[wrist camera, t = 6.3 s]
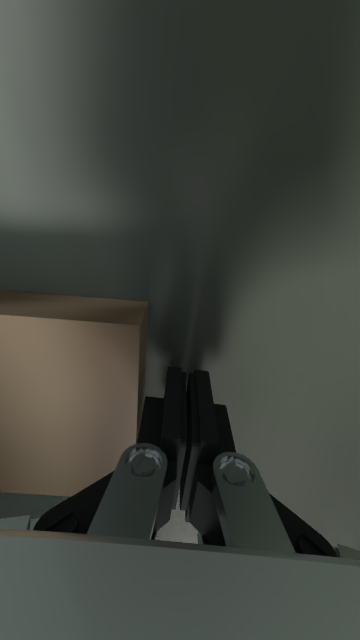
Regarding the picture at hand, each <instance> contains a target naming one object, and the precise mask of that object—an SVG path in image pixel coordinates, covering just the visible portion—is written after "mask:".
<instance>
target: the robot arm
mask: <svg viewBox="0 0 360 640" xmlns="http://www.w3.org/2000/svg"><path fill="white" fill-rule="evenodd" d="M179 485H180V510H185V514H186V522H190V523H191V524H192V525H193V526H194V527H195V528H196V529H197V530H198V534H197V536H198V544H193V543H182V542H171V541H160V540H156V537H157V531H158V530H159V529H160V528H161V527H162V526H163V525H165V524H166V523H167V522H168V521H169V520H170V515H171V509H175V508H176V502H177V497H178V491H179ZM0 640H360V551H359V550H356V549H352V548H349V547H346V546H343V545H340V544H337V546H336V547H333V546H331V545H330V543H329V542H328V541H327V540H326V539H325V538H324V537H323V536H322V535H321V534H319V533H318V532H317V531H316V530H314V529H313V528H312V527H311V526H309V525H308V524H307V523H306V522H304V521H303V520H302V519H301V518H299V517H298V516H297V515H296V514H294V513H293V512H292V511H291V510H289V509H288V508H287V507H286V506H284V505H283V504H282V503H281V502H279V501H278V500H277V499H276V498H274V497H273V496H272V495H271V494H269V493H268V490H267V488H266V486H265V484H264V482H263V479H262V477H261V475H260V473H259V470H258V469H257V467H256V466H255V464H254V463H253V462H252V461H251V460H250V459H249V458H247V457H245V456H244V455H241V454H239V453H236V450H235V446H234V441H233V436H232V432H231V427H230V422H229V418H228V413H227V408H226V406H225V405H220V404H214V403H213V397H212V390H211V384H210V377H209V372H208V371H201V370H195V372H194V373H190V374H189V379H188V385H187V392H186V372H181V368H175V367H168V371H167V379H166V387H165V395H164V398H156V397H147V396H146V397H145V402H144V407H143V413H142V418H141V423H140V429H139V434H138V439H137V444H134V445H132V446H130V447H128V448H127V449H126V450H125V451H124V452H123V454H122V455H121V457H120V459H119V462H118V464H117V466H116V468H115V470H114V471H113V472H111V473H109V474H108V475H106V476H104V477H103V478H101V479H100V480H98V481H96V482H95V483H93V484H91V485H90V486H88V487H86V488H85V489H83V490H81V491H80V492H78V493H76V494H75V495H73V496H71V497H70V498H68V499H66V500H65V501H63V502H61V503H60V504H58V505H57V506H55V507H53V508H52V509H50V510H49V511H47V512H46V513H45V514H44V515H42V516H41V518H35V519H30V515H25V516H17V517H10V518H2V519H0Z"/></svg>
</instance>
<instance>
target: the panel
mask: <svg viewBox="0 0 360 640" xmlns="http://www.w3.org/2000/svg"><path fill="white" fill-rule="evenodd" d="M147 320H148V302H145V301H133V300H120V299H108V298H95V297H83V296H71V295H58V294H46V293H34V292H21V291H9V290H0V492H4V493H20V494H36V495H52V496H67V497H71V496H73V495H75V494H76V493H78V492H80V491H81V490H83V489H85V488H86V487H88V486H90V485H91V484H93V483H95V482H96V481H98V480H100V479H101V478H103V477H104V476H106V475H108V474H109V473H111V472H113V471H114V470H115V468H116V466H117V464H118V462H119V459H120V457H121V455H122V454H123V452H124V451H125V450H126V449H127V448H128V447H130V446H132V445H134V444H137V439H138V434H139V429H140V423H141V418H142V413H143V406H144V385H145V363H146V342H147Z"/></svg>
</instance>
